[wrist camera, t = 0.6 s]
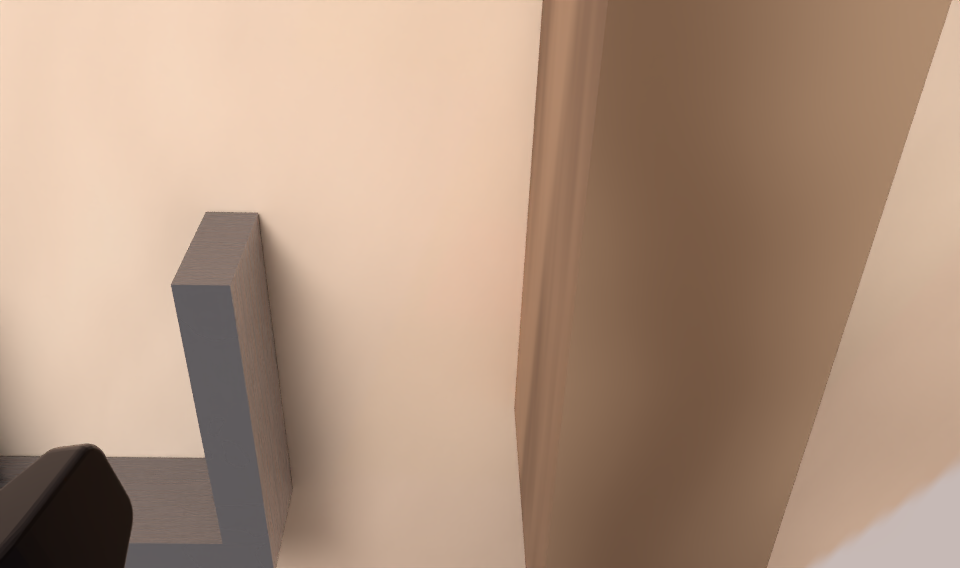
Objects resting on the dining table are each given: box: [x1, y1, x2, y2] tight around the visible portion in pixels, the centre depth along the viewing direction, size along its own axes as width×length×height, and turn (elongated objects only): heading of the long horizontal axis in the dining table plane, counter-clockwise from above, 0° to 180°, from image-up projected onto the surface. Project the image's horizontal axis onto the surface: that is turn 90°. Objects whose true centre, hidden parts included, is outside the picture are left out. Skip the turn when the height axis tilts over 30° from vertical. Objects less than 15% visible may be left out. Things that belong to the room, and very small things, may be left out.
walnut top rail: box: [514, 0, 952, 568], centre depth 17 cm, size 4×14×8 cm, turn 178°
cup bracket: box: [0, 212, 293, 568], centre depth 22 cm, size 9×9×3 cm
